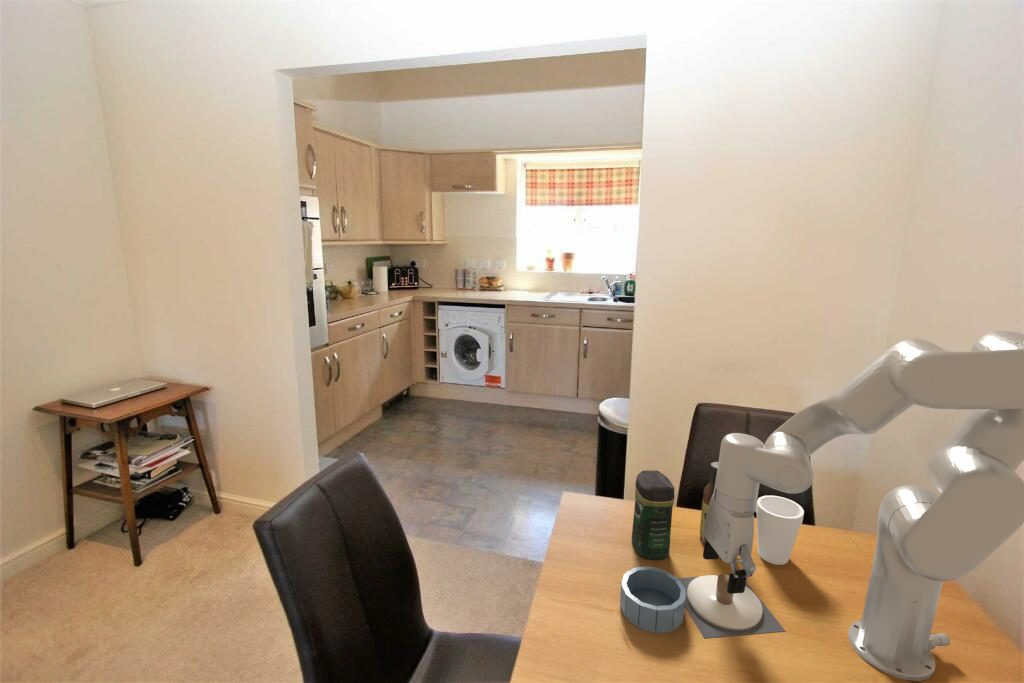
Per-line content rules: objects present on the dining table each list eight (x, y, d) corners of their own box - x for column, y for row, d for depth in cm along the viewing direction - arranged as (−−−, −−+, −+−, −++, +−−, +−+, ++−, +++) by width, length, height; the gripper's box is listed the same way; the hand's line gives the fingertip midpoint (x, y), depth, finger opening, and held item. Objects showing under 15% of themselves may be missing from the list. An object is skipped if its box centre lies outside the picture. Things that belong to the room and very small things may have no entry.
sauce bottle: (729, 551, 119) (738, 474, 115) (700, 548, 121) (708, 471, 116) (723, 535, 126) (732, 461, 121) (696, 531, 127) (704, 458, 122)
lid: (737, 576, 110) (740, 554, 109) (777, 627, 97) (781, 602, 96) (675, 581, 109) (677, 559, 108) (707, 633, 95) (710, 608, 94)
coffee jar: (673, 561, 116) (680, 487, 112) (639, 562, 116) (644, 488, 111) (659, 535, 125) (665, 466, 121) (627, 536, 125) (632, 467, 121)
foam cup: (802, 573, 112) (810, 520, 109) (757, 568, 114) (764, 516, 111) (786, 546, 121) (794, 497, 118) (745, 542, 123) (752, 493, 120)
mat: (739, 575, 112) (739, 573, 111) (785, 632, 96) (785, 630, 96) (669, 580, 110) (669, 578, 110) (704, 639, 94) (704, 638, 94)
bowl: (668, 587, 108) (670, 564, 106) (694, 631, 96) (696, 607, 95) (613, 591, 106) (614, 568, 105) (632, 637, 95) (634, 612, 94)
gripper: (695, 475, 105) (685, 547, 110) (740, 525, 89) (726, 608, 93) (729, 474, 106) (718, 546, 110) (781, 524, 90) (765, 606, 94)
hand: (722, 574), depth 102 cm, fingers open, 9 cm apart
